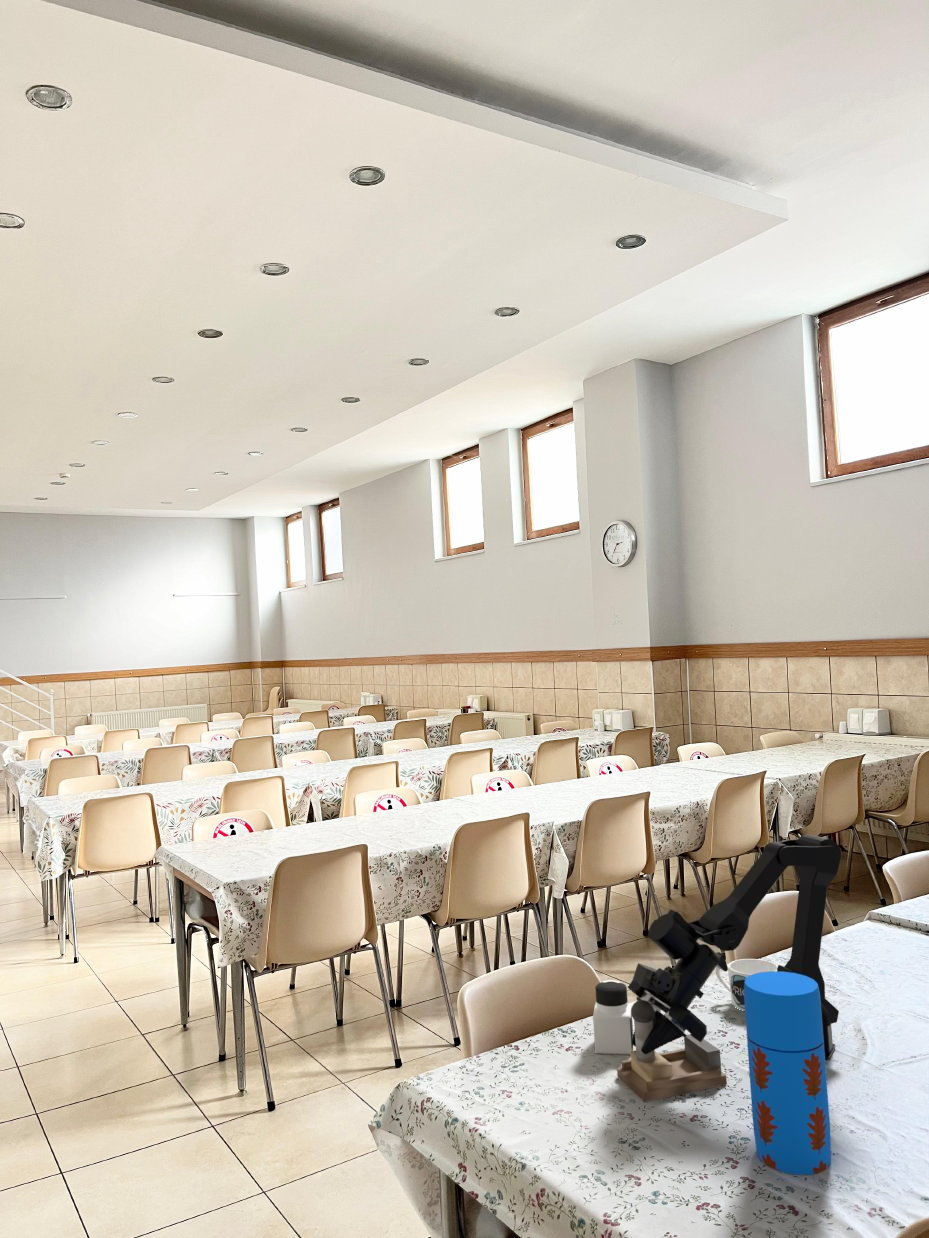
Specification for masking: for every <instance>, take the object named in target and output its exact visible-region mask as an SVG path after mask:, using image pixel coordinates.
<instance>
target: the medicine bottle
mask: <svg viewBox="0 0 929 1238" xmlns="http://www.w3.org/2000/svg"><path fill="white" fill-rule="evenodd" d="M628 1001H629V1000H628V986H627V985H626V984H625V983H624V982H621V981H619V980H612V979H609V980H603V981H601V982H599V983H597V984H596V986H595V1003H594V1010H593V1014H592V1022H593V1023H592V1024H593V1039H594V1041H593V1042H594V1052H595V1054H603V1055H604V1054H605V1055H631V1051H634V1045H633V1044H632V1043H631V1041H632V1037H633V1034H634V1024H633V1017H632V1014H631V1009H632V1003H631V1002H630V1003H628Z"/></svg>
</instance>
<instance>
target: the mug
mask: <svg viewBox="0 0 929 1238" xmlns="http://www.w3.org/2000/svg"><path fill="white" fill-rule="evenodd" d="M778 965H779V964H777V963H774V962H772V961H769V960H765V959H759V958H741V959H740V958H739V959H736V960H733V961H731V962H729V963H727V968H728V970H727V973H728V980H729V981H728V982H729V984H728V982H727V981H726V980H725V979H724V978H723V976H722V974H721V972H720V970H721V969H719V968H718V967H716V968H715V975H716V978H717V980H718V981H719V982H720V983H721V984H722V985H723V986H724V988H725V989H726V990H727V991H728V992H730V998H731V1004H732V1006H733V1005H734V1006H735V1007H736V1008H738V1009H740V1010H743V1011H745V1003H744V983H745V979H746V978H747V977H748V976H750V975H752V974H756V973H760V972H770V971H777V968H778ZM734 1006H733V1007H734ZM735 1007H734V1008H735ZM736 1008H735V1009H736ZM738 1009H737V1010H738ZM740 1010H739V1011H740ZM743 1011H742V1012H743Z"/></svg>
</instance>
